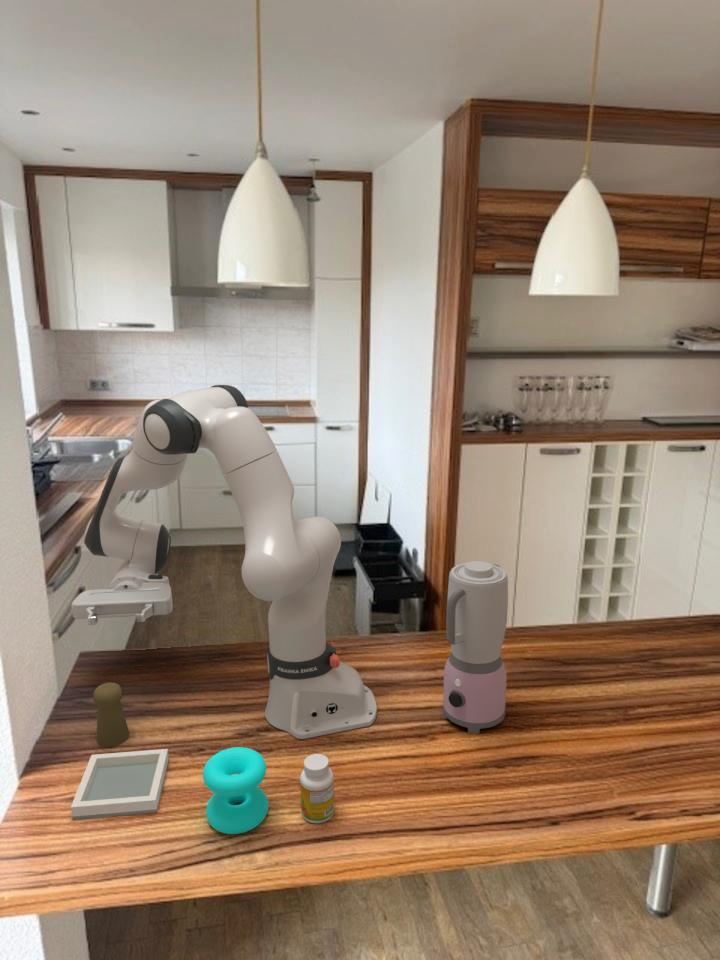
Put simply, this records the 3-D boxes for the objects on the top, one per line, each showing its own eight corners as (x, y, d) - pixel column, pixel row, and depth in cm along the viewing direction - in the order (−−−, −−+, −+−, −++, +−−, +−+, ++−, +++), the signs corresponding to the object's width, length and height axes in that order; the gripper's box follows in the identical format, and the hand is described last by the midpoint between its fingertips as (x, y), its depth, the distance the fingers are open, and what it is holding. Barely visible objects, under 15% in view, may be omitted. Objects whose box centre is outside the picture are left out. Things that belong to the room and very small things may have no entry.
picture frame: (168, 760, 130) (167, 748, 130) (156, 812, 117) (155, 800, 117) (93, 766, 129) (91, 754, 128) (72, 819, 116) (70, 807, 115)
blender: (466, 691, 151) (470, 549, 142) (517, 713, 143) (524, 564, 134) (420, 724, 140) (421, 572, 131) (472, 751, 132) (477, 590, 123)
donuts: (269, 742, 119) (261, 783, 109) (272, 793, 121) (264, 837, 112) (209, 743, 119) (196, 784, 109) (213, 794, 121) (200, 838, 112)
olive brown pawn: (119, 749, 134) (113, 697, 131) (90, 745, 135) (83, 693, 132) (135, 729, 139) (129, 679, 136) (107, 726, 140) (100, 676, 137)
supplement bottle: (301, 802, 119) (299, 752, 117) (333, 799, 120) (332, 749, 117) (301, 825, 114) (299, 773, 111) (335, 823, 114) (333, 771, 112)
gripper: (79, 580, 155) (60, 608, 142) (175, 575, 157) (166, 603, 144) (82, 607, 157) (64, 637, 143) (177, 602, 159) (168, 631, 146)
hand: (116, 620), depth 144 cm, fingers open, 8 cm apart
